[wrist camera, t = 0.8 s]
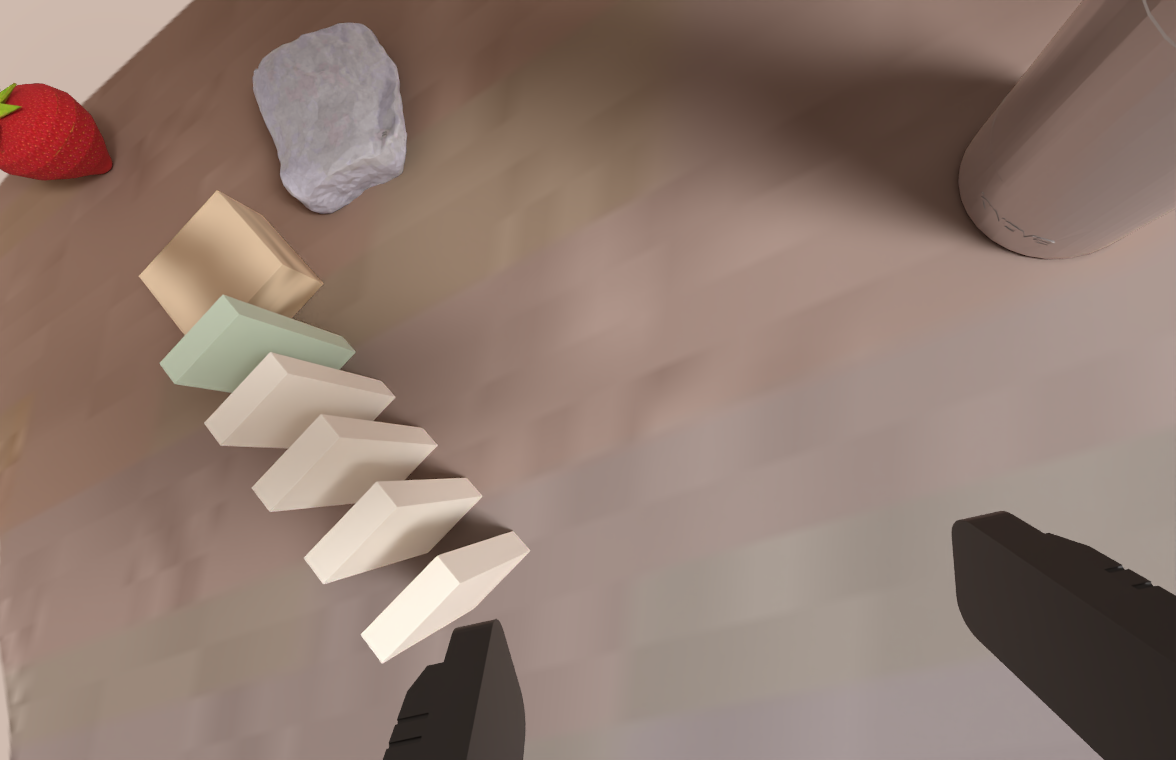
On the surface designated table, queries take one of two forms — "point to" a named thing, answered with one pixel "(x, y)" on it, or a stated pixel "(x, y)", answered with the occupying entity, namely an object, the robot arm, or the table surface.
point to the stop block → (228, 265)
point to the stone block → (333, 114)
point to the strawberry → (48, 135)
